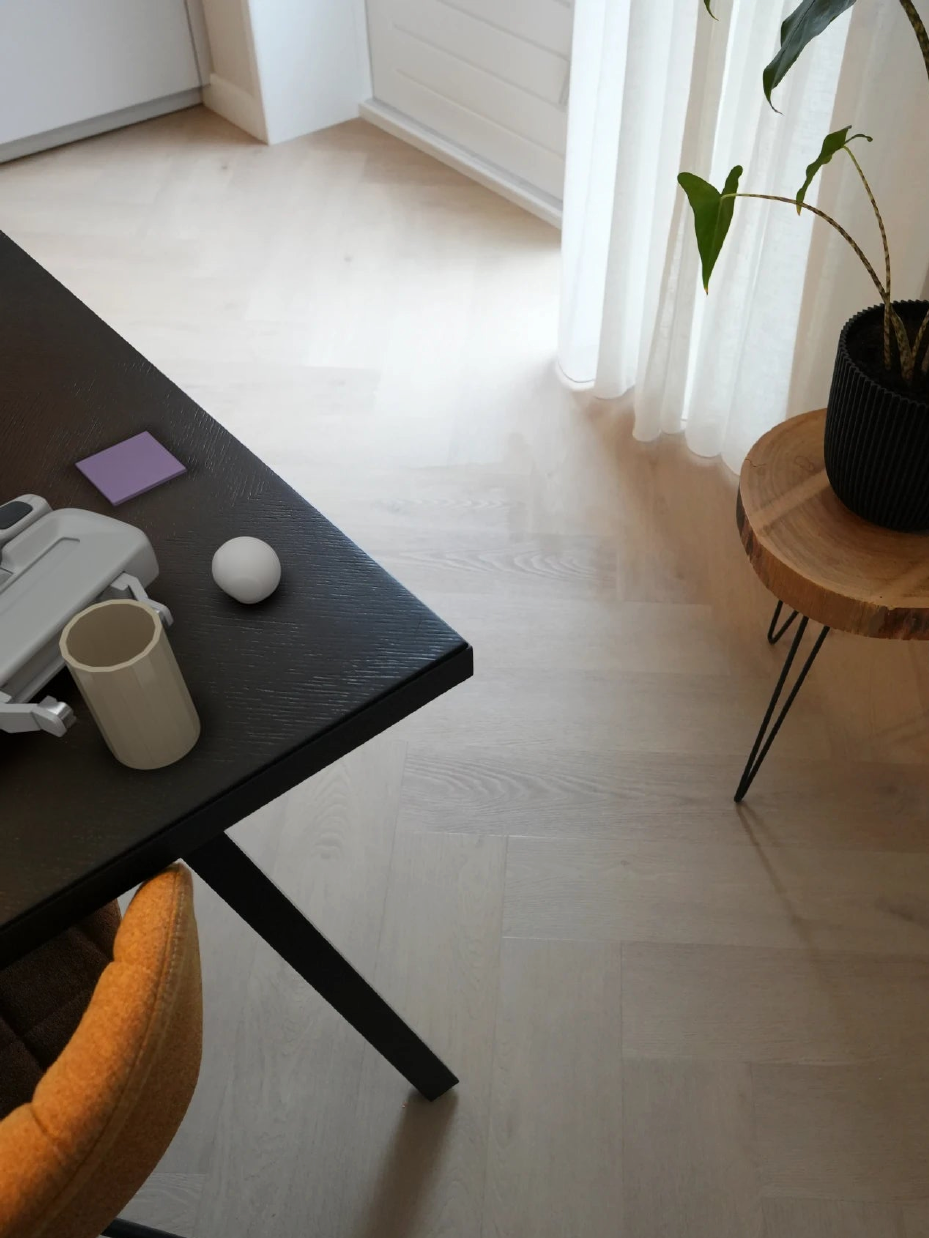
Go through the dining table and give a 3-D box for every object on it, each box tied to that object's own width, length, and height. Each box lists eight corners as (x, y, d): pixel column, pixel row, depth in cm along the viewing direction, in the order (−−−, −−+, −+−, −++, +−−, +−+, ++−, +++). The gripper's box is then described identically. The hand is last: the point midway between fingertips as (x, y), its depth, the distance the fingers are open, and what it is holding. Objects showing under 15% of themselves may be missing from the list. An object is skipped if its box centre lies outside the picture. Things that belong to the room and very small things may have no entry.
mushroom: (218, 578, 86) (202, 529, 83) (282, 566, 87) (269, 517, 83) (224, 624, 83) (208, 575, 80) (290, 611, 84) (277, 562, 80)
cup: (101, 771, 75) (49, 673, 67) (119, 700, 79) (72, 600, 71) (193, 768, 75) (151, 670, 67) (206, 698, 79) (168, 597, 71)
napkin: (114, 507, 91) (113, 503, 91) (76, 467, 95) (74, 463, 94) (187, 471, 94) (185, 468, 94) (147, 434, 97) (146, 430, 97)
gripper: (-192, 675, 69) (-22, 758, 65) (46, 478, 80) (203, 538, 76) (-142, 737, 74) (19, 818, 70) (75, 544, 85) (224, 604, 81)
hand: (117, 670), depth 73 cm, fingers open, 8 cm apart
